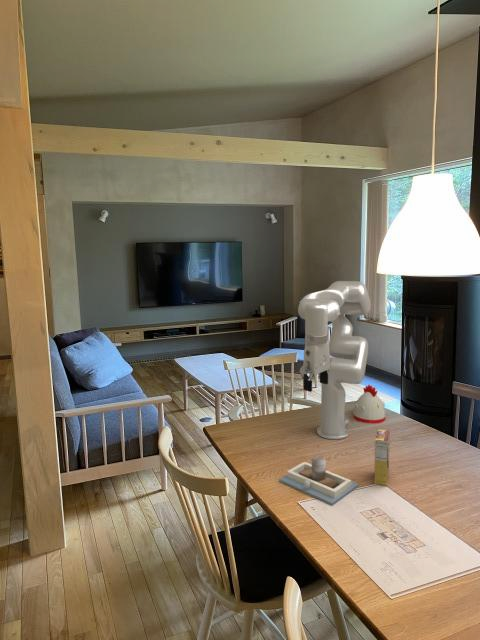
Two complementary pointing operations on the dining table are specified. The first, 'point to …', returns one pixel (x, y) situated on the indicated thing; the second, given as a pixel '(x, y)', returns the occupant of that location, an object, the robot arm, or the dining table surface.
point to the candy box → (381, 457)
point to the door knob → (319, 473)
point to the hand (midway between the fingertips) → (316, 387)
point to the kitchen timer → (369, 407)
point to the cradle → (318, 484)
